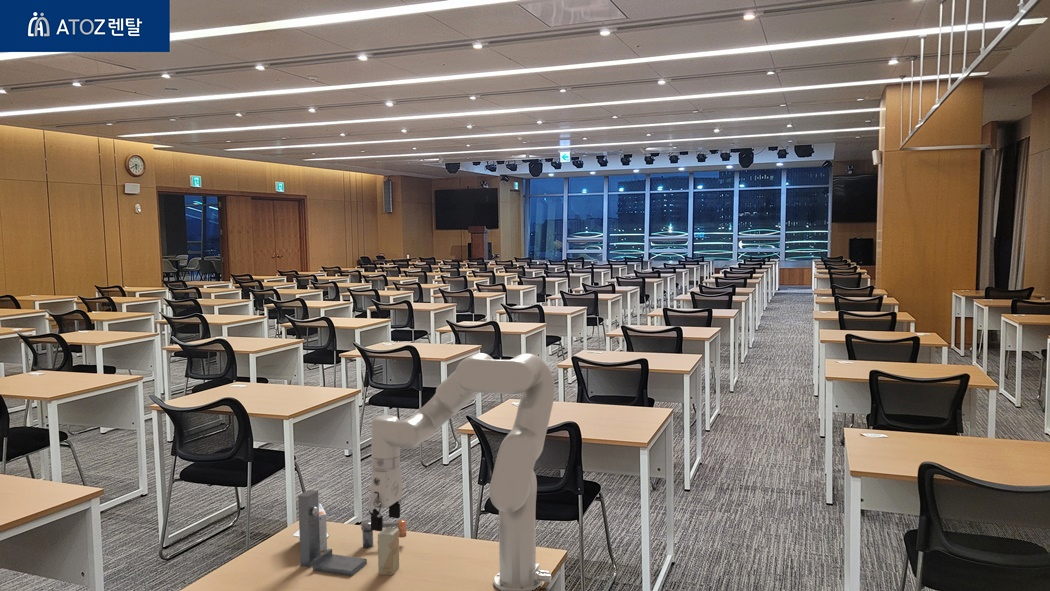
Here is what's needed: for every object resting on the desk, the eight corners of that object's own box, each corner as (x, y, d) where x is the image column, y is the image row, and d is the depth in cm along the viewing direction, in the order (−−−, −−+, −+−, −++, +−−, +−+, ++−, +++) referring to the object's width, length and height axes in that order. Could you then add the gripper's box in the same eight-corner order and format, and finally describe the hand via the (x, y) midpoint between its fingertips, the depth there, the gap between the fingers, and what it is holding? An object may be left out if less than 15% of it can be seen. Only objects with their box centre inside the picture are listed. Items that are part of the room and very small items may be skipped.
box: (392, 575, 196) (391, 535, 196) (377, 574, 197) (376, 534, 197) (400, 567, 202) (399, 527, 201) (385, 566, 202) (384, 526, 202)
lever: (361, 540, 214) (360, 525, 214) (362, 536, 218) (361, 520, 217) (406, 538, 216) (405, 522, 215) (406, 533, 219) (406, 518, 219)
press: (366, 564, 204) (364, 493, 203) (351, 576, 196) (349, 503, 195) (314, 556, 209) (312, 488, 208) (297, 568, 202) (294, 497, 200)
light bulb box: (299, 541, 221) (297, 506, 220) (322, 537, 224) (320, 502, 223) (304, 554, 211) (303, 517, 210) (328, 550, 214) (327, 513, 213)
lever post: (375, 544, 217) (374, 528, 217) (370, 548, 214) (369, 532, 214) (366, 543, 218) (365, 527, 218) (360, 547, 215) (360, 531, 215)
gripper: (382, 472, 188) (382, 537, 189) (412, 454, 205) (412, 514, 206) (356, 469, 191) (356, 533, 192) (388, 452, 207) (388, 511, 208)
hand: (385, 523), depth 199 cm, fingers open, 9 cm apart
